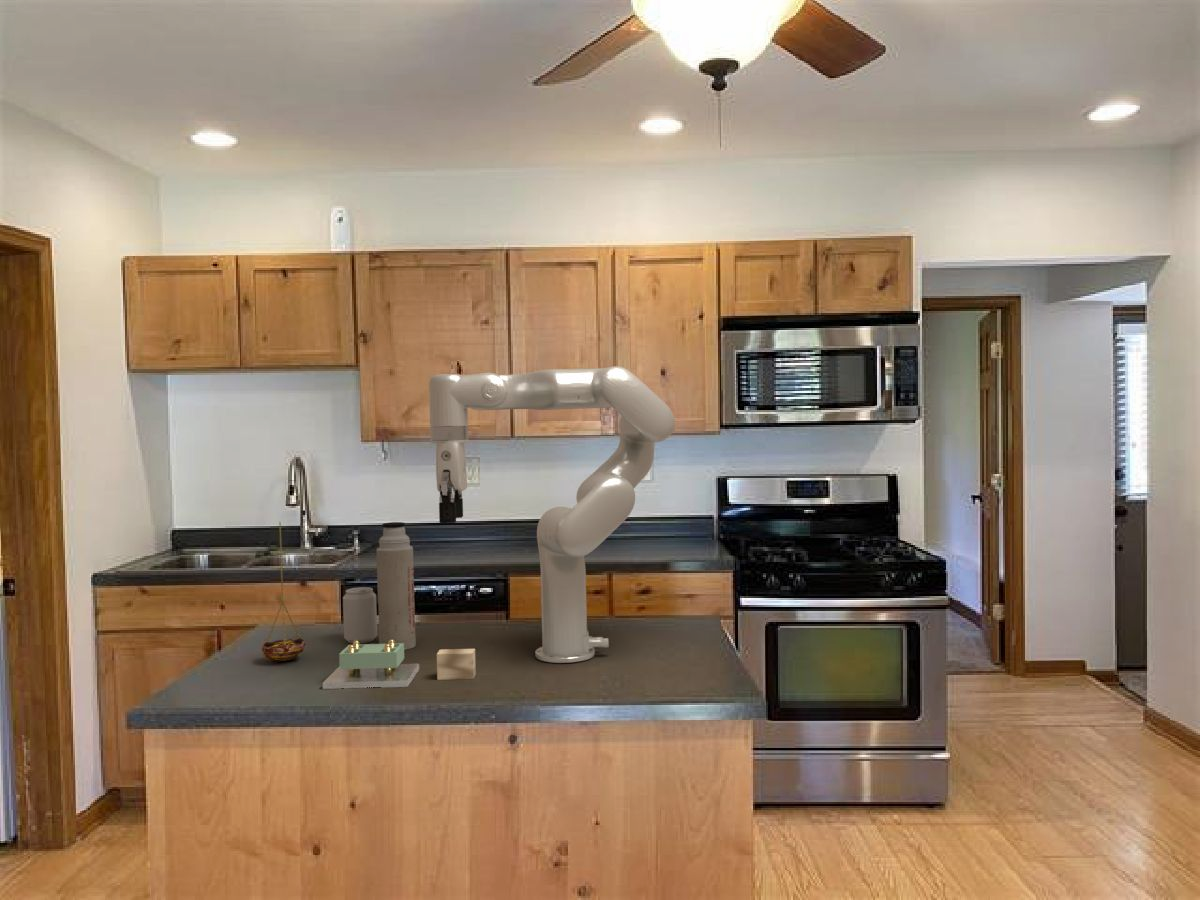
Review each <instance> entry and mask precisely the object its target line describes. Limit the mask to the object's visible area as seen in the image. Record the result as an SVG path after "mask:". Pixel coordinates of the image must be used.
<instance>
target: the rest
mask: <svg viewBox="0 0 1200 900" xmlns="http://www.w3.org/2000/svg"><path fill="white" fill-rule="evenodd" d="M476 671H477V670H476V648H453V649H452V648H451V649H449V648H448V649H447V648H445V649H439V650H438V651H437V653H436V674H437V676H436V677H437V681H439V680H440V681H443V680H447V681H448V680H473V679H474V678H475V676H476V674H477V672H476Z"/></svg>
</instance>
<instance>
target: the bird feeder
mask: <svg viewBox="0 0 1200 900" xmlns="http://www.w3.org/2000/svg"><path fill="white" fill-rule="evenodd" d="M278 524H279V525H278V527H279V552H280V554H279V555H280V561H279V562H280V582H281V584H280V585H281V589H280V590H281V604H280V605H279V608H278V611H277V613H276V616H275V619H274V621H273V624H272V627H271V630H270V632H269V634H268V637H267V638H265V640H264V642H263V643H262V644H261V651H262V653H263V656H264V658H265V659H267V660H268V661H271V662H275V663H281V662H286V661H287V662H288V661H289V660H292V659H294V658H296V657H298V656H299V655H300V654H302V653H303V651H304V649H305V648H306V645H307V644H306V641H305V640H304V639H303V638H302V635H300V634H299V633H298V631H297V629H296V627H295V625H294V622H293V621H292V617H291V616H290V613H289V612H288V610H287V608H286V605H285V602H284V585H283V584H284V580H283V556H282V555H283V553H282V551H283V550H282V549H283V548H282V524H281V521H279V523H278ZM281 610H282V620H283V621H282V622H283V623H282V625H283V626H282V627H283V638H284V639H277V640H272V641H271V640H270V638H271V635H272V632H273V630H274V627H275V624H276V622H277V619H278V617H279V614H280V611H281ZM285 612H286V614H287V617H288V618H289V620H290V623H291V626H292V627H293V630H294V631H295V634H296V638H287V639H286V637H287V636H286V624H285V622H286V621H285Z"/></svg>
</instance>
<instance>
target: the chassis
mask: <svg viewBox="0 0 1200 900" xmlns="http://www.w3.org/2000/svg"><path fill="white" fill-rule="evenodd" d="M359 644H360V643H359V641H358V640H355V641H354V642H353V643H352V644H348V645H349V647H348V653H355V648H359ZM391 647H395V641H394V640H393V639H390V640H389V642H388V644H386V645H385V646H384V652H391ZM419 670H420V663H400V664H399V666H398V667H397V668H367V669H340V665H339V666H338V667H337V668H336V669H335V670H334V671H332V673H330V675H329V676H328V677H326V679H325V680H324V681H323V682H322V689H323V690H332V689H333V690H338V689H341V688H344V689H370V688H371V687H372V688H371V689H373V687H381V688H407V687H409V685H410V684H411V682H412V681H413V679H414V678H415V676H416V675H417V673H418V672H419ZM367 687H368V688H367ZM369 687H370V688H369Z"/></svg>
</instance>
